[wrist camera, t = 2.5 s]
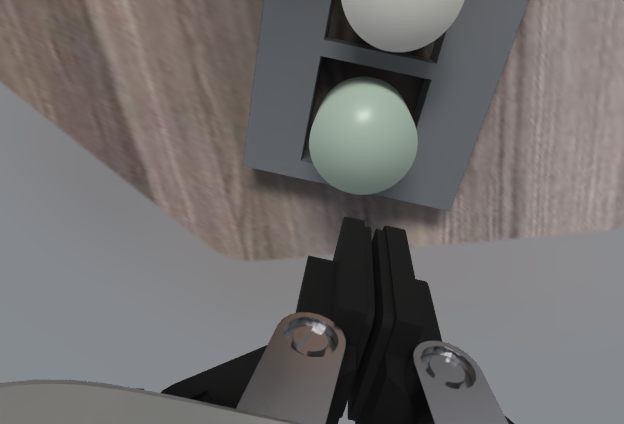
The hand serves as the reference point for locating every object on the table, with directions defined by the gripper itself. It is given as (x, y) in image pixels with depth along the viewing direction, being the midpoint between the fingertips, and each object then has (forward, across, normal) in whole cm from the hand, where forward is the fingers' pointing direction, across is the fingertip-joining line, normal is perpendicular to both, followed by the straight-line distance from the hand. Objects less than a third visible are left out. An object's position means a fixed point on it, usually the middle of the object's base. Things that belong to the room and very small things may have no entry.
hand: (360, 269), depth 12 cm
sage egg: (+16, 0, 0) cm, 16 cm away
